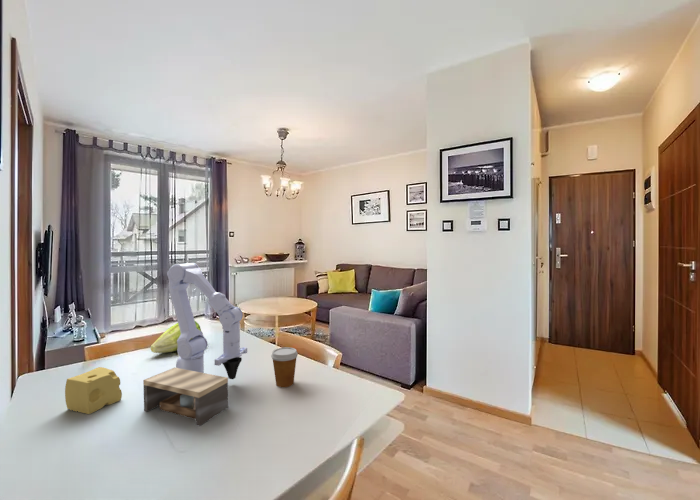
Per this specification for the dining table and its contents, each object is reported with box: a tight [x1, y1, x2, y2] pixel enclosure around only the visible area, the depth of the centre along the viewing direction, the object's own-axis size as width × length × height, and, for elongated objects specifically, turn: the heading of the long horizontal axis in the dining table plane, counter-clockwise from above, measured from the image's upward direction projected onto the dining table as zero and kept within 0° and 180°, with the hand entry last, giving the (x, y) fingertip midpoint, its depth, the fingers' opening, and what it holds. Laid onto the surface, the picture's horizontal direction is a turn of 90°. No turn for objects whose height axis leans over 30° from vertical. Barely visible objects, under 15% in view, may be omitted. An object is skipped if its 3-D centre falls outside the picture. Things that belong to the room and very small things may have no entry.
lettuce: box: [150, 320, 202, 354], centre depth 159 cm, size 15×24×14 cm, turn 153°
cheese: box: [64, 366, 123, 415], centre depth 105 cm, size 10×11×10 cm
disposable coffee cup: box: [270, 346, 298, 388], centre depth 120 cm, size 10×10×12 cm
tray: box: [159, 393, 196, 420], centre depth 107 cm, size 15×18×2 cm
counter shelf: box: [143, 367, 229, 427], centre depth 102 cm, size 23×11×10 cm, turn 67°
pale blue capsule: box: [180, 394, 194, 409], centre depth 101 cm, size 4×4×4 cm
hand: (231, 378), depth 120 cm, fingers closed
